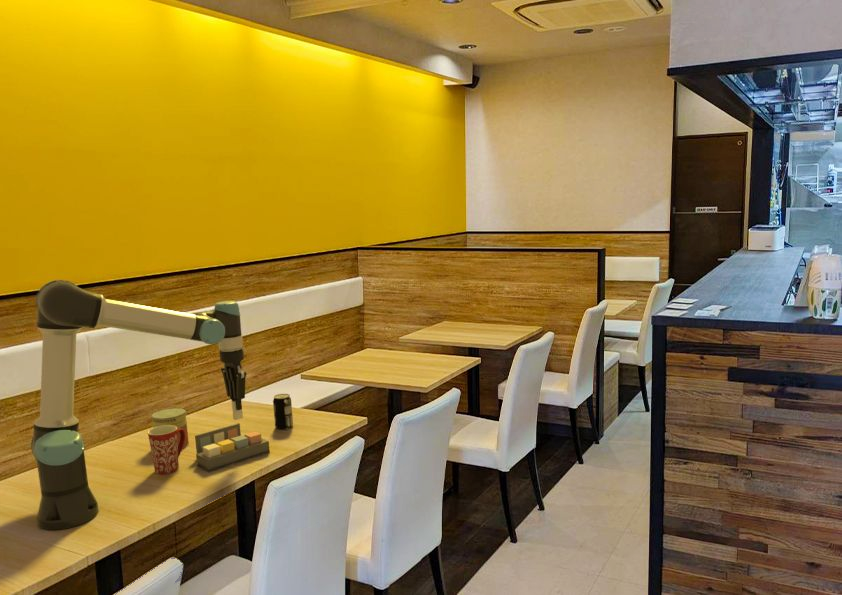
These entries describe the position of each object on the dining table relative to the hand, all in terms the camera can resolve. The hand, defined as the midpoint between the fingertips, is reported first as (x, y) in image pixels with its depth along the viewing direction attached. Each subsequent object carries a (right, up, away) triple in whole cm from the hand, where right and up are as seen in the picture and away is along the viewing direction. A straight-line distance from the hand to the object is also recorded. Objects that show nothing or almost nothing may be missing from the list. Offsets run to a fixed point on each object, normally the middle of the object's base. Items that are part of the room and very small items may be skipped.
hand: (238, 418), depth 235 cm
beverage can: (+9, -8, +30) cm, 33 cm away
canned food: (-27, -12, +16) cm, 34 cm away
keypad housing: (-1, -13, 0) cm, 14 cm away
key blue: (0, -10, +1) cm, 10 cm away
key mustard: (-3, -11, -2) cm, 11 cm away
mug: (-20, -15, -5) cm, 26 cm away
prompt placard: (-8, -13, +8) cm, 17 cm away
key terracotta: (+4, -9, +5) cm, 11 cm away
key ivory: (-7, -12, -5) cm, 14 cm away
